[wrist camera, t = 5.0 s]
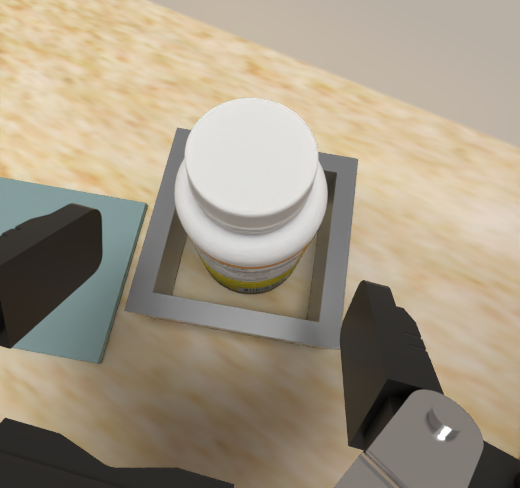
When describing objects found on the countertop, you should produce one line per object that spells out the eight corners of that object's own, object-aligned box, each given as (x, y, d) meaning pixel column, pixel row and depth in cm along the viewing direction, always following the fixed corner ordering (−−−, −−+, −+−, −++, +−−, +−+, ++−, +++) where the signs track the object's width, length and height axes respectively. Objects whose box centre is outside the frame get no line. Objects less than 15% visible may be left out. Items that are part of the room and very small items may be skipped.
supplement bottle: (241, 187, 21) (235, 44, 11) (316, 239, 20) (383, 136, 10) (182, 257, 19) (113, 167, 9) (260, 316, 18) (274, 285, 9)
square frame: (340, 188, 21) (357, 159, 17) (322, 348, 18) (339, 349, 15) (188, 162, 21) (177, 127, 18) (147, 316, 18) (124, 310, 15)
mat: (147, 205, 20) (145, 203, 20) (100, 363, 17) (97, 363, 17) (1, 179, 20) (-4, 176, 20) (-68, 332, 17) (-74, 331, 17)
